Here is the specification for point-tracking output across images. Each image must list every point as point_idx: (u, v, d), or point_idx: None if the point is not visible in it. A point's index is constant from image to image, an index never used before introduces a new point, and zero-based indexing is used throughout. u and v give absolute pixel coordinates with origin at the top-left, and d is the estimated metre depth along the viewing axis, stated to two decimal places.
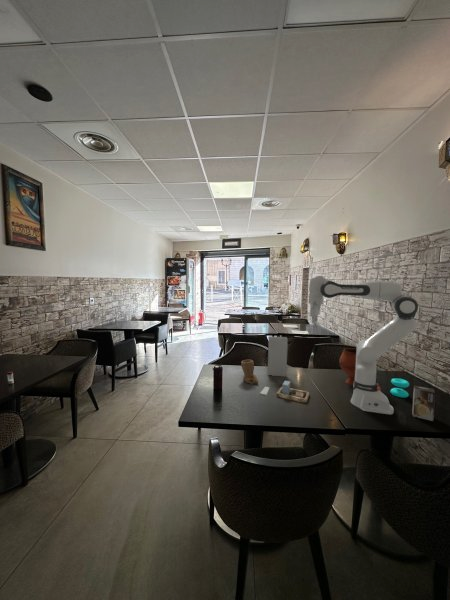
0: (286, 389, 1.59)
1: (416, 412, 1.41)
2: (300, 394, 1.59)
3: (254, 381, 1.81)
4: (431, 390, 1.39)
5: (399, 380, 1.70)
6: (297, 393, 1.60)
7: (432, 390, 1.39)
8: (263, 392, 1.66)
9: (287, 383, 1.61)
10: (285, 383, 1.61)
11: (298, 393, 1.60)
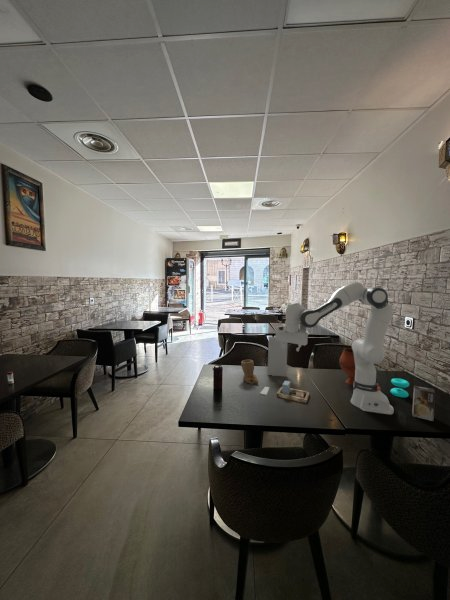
0: (286, 389, 1.59)
1: (416, 412, 1.41)
2: (300, 394, 1.59)
3: (254, 381, 1.81)
4: (431, 390, 1.39)
5: (399, 380, 1.70)
6: (297, 393, 1.60)
7: (432, 390, 1.39)
8: (263, 392, 1.66)
9: (287, 383, 1.61)
10: (285, 383, 1.61)
11: (298, 393, 1.60)
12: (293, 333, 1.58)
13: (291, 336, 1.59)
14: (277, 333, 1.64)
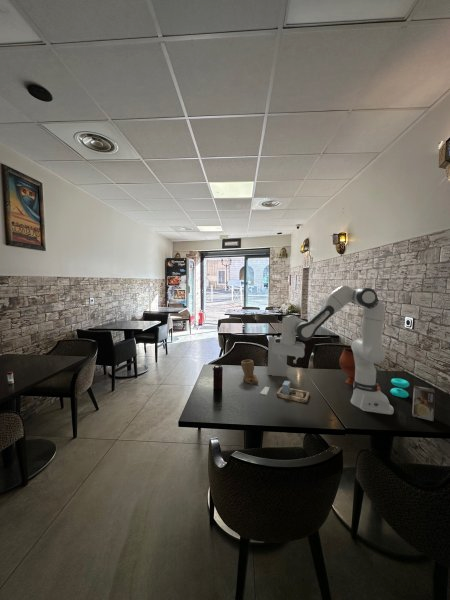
0: (286, 389, 1.59)
1: (416, 412, 1.41)
2: (300, 394, 1.59)
3: (254, 381, 1.81)
4: (431, 390, 1.39)
5: (399, 380, 1.70)
6: (297, 393, 1.60)
7: (432, 390, 1.39)
8: (263, 392, 1.66)
9: (287, 383, 1.61)
10: (285, 383, 1.61)
11: (298, 393, 1.59)
12: (290, 345, 1.57)
13: (288, 348, 1.59)
14: (274, 346, 1.62)
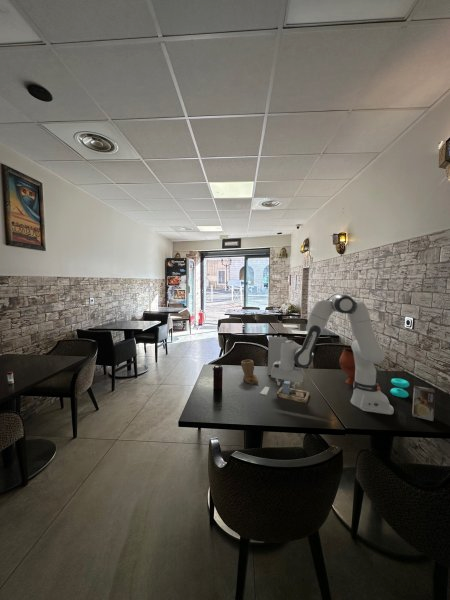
0: (286, 389, 1.59)
1: (416, 412, 1.41)
2: (300, 394, 1.59)
3: (254, 381, 1.81)
4: (431, 390, 1.39)
5: (399, 380, 1.70)
6: (297, 393, 1.60)
7: (432, 390, 1.39)
8: (263, 392, 1.66)
9: (287, 383, 1.61)
10: (285, 383, 1.61)
11: (298, 393, 1.60)
12: (289, 371, 1.58)
13: (287, 373, 1.60)
14: (272, 370, 1.63)
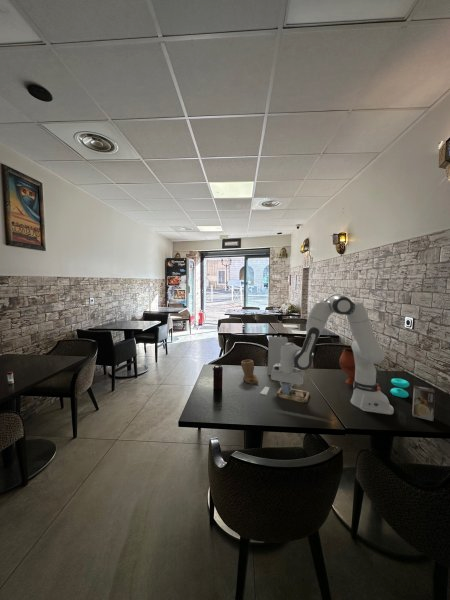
0: (286, 389, 1.59)
1: (416, 412, 1.41)
2: (300, 394, 1.59)
3: (254, 381, 1.81)
4: (431, 390, 1.39)
5: (399, 380, 1.70)
6: (297, 393, 1.60)
7: (432, 390, 1.39)
8: (263, 392, 1.66)
9: (287, 383, 1.61)
10: (285, 383, 1.61)
11: (298, 393, 1.60)
12: (289, 373, 1.59)
13: (287, 376, 1.60)
14: (272, 372, 1.64)
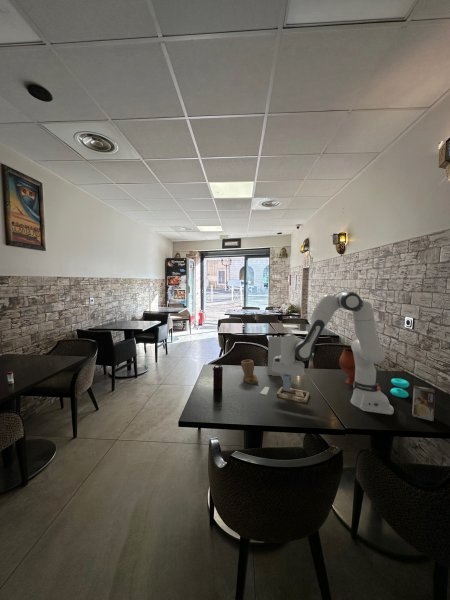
0: (287, 381, 1.58)
1: (416, 412, 1.41)
2: (300, 393, 1.59)
3: (254, 381, 1.81)
4: (431, 390, 1.39)
5: (399, 380, 1.70)
6: (297, 392, 1.60)
7: (432, 390, 1.39)
8: (263, 392, 1.66)
9: (288, 375, 1.61)
10: (286, 375, 1.61)
11: (298, 393, 1.60)
12: (290, 365, 1.58)
13: (288, 367, 1.60)
14: (273, 365, 1.63)
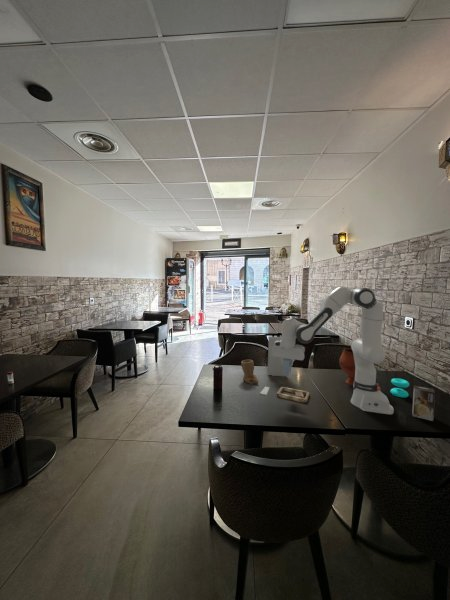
0: (287, 365, 1.58)
1: (416, 412, 1.41)
2: (300, 394, 1.59)
3: (254, 381, 1.81)
4: (431, 390, 1.39)
5: (399, 380, 1.70)
6: (297, 393, 1.60)
7: (432, 390, 1.39)
8: (263, 392, 1.66)
9: (288, 359, 1.60)
10: (286, 359, 1.60)
11: (298, 393, 1.60)
12: (290, 348, 1.57)
13: (288, 351, 1.59)
14: (273, 349, 1.62)
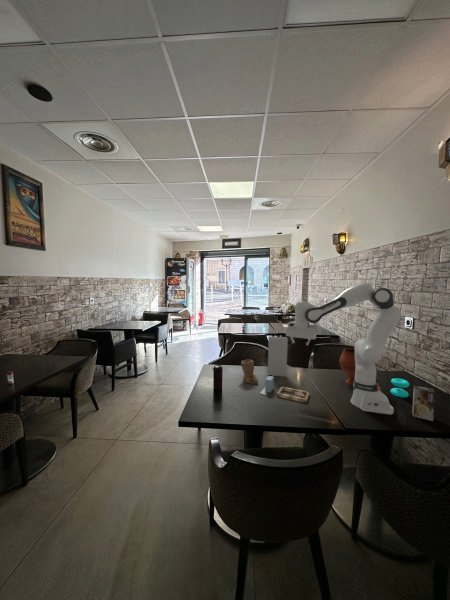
0: (269, 384, 1.65)
1: (416, 412, 1.41)
2: (300, 393, 1.59)
3: (254, 381, 1.81)
4: (431, 390, 1.39)
5: (399, 380, 1.70)
6: (296, 393, 1.60)
7: (432, 390, 1.39)
8: (263, 392, 1.66)
9: (270, 378, 1.67)
10: (268, 378, 1.67)
11: (298, 393, 1.60)
12: (303, 328, 1.71)
13: (301, 331, 1.72)
14: (287, 329, 1.76)
